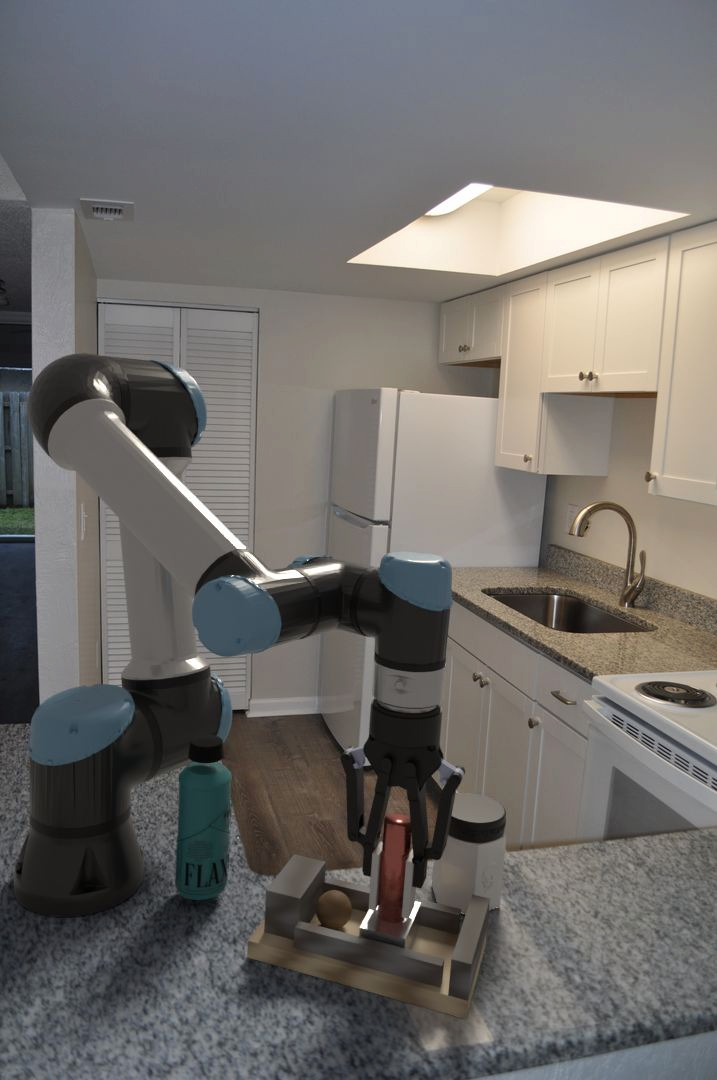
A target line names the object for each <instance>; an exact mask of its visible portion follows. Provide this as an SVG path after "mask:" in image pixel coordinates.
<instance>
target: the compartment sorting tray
mask: <svg viewBox="0 0 717 1080" xmlns="http://www.w3.org/2000/svg"><path fill="white" fill-rule="evenodd" d="M326 865H327V862H326V861H325V860H320V859H317V858H316V859H315V858H312V857H307V856H303V855H299V854H295V853H294V854H293V855H292V856H291V858H290V859H289V860H288V862H286V864H285V865H284V867H283V868H282V869H281V870H280V872H279V873H278V874H277V876H276V877H275V878H274V880H273V881H272V882H271V883H270V884H269V886H268V887H267V888H266V890H265V904H264V905H265V908H264V909H265V910H264V918H263V919H262V921H261V922H260V924H259V925H258V926H257V928H256V929H255V930H254V931H253V933H252V934H251V936H250V937H249V939H248V940H247V949H246V951H247V954H246V958H248V959H252V960H256V961H259V962H261V963H262V962H263V963H266V964H270V965H272V966H277V967H280V968H284V969H288V970H291V971H295V972H298V973H301V974H305V975H309V976H312V977H316V978H320V979H323V980H327V981H330V982H333V983H336V982H337V984H340V985H343V986H347V987H352V988H355V989H358V990H362V991H366V992H369V993H372V994H375V995H376V994H377V995H380V996H383V997H388V998H391V999H394V1000H398V1001H401V1002H405V1003H408V1004H412V1005H415V1006H418V1007H422V1008H426V1009H429V1010H433V1011H436V1012H440V1013H443V1014H447V1015H451V1016H454V1017H458V1018H461V1019H464V1020H467V1017H468V1013H469V1011H470V1006H471V1002H472V999H473V995H474V993H475V987H476V984H477V981H478V977H479V973H480V970H479V969H481V966H482V961H483V958H484V955H483V954H485V951H486V947H485V946H486V944H487V935H488V924H489V923H488V922H489V913H490V911H489V904H490V898H485V897H481V896H477V895H473V894H472V897H471V900H470V903H469V906H468V909H467V913H466V915H464V919H463V922H462V924H461V915H462V914H461V909H458V908H454V907H450V906H446V905H442V904H437V903H436V902H433V901H429V900H424V899H420V898H416V897H415V901H416V902H420V903H421V909H420V922H419V929H418V931H417V933H416V936H415V938H414V941H413V943H412V945H411V948H410V950H409V949H405V948H401V947H397V946H393V945H389V944H386V943H382V942H378V941H374V940H370V939H366V938H363V937H359V931H360V926H361V924H362V922H363V920H364V918H365V917H366V915H367V913H368V911H369V896H370V886H366V885H363V884H357V883H355V882H354V883H353V882H350V881H346V880H342V879H337V878H333V877H329V876H328V877H327V878H326V867H327V866H326ZM325 879H326V880H325ZM331 890H337V891H341V892H343V893H344V894H345V895H346V896H347V897H348V898H349V900H350V902H351V906H352V913H351V917H350V919H349V921H348V922H347V923H346V924H345V925H344V926H343V927H341V928H339V929H328V928H326V927H324V926H323V925H322V924H321V923H320V922H319V920H318V918H317V915H316V905H317V902H318V900H319V898H320V897H321V896H322V895H323V894H324V893H326V892H328V891H331ZM484 950H485V951H484ZM480 965H481V966H480Z"/></svg>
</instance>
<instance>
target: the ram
mask: <svg viewBox="0 0 717 1080" xmlns="http://www.w3.org/2000/svg"><path fill="white" fill-rule="evenodd" d="M382 842H383V845H382V859H381V872H380V886H379V900H378V906H377V908H376V910H375V911H374V910H370V909H369V911H368V913H367V915H366V917H365V918H364V920H363V922H362V924H361V926H360V931H359V937H363V938H366V939H370V940H374V941H378V942H382V943H386V944H389V945H393V946H397V947H401V948H405V949H409V950H410V948H411V945H412V943H413V941H414V938H415V936H416V933H417V931H418V929H419V922H420V909H421V903H420V902H416V901H415V905H414V908H413V910H412V912H411V915H410V917H409V919H406V918H402V907H403V894H404V881H405V868H406V860H407V858H408V856H409V855H410V852H411V846H412V834H411V821H410V816H408V815H406V814H402V813H390V814H387V815H385V817H384V821H383V834H382Z"/></svg>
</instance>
